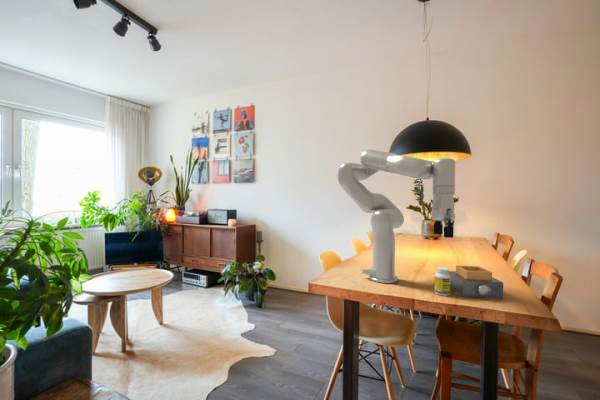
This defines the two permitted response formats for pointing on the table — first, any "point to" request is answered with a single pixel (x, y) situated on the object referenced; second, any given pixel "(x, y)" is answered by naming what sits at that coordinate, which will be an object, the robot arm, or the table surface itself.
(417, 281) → the table surface
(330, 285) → the table surface
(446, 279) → the supplement bottle
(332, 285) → the table surface
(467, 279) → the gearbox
